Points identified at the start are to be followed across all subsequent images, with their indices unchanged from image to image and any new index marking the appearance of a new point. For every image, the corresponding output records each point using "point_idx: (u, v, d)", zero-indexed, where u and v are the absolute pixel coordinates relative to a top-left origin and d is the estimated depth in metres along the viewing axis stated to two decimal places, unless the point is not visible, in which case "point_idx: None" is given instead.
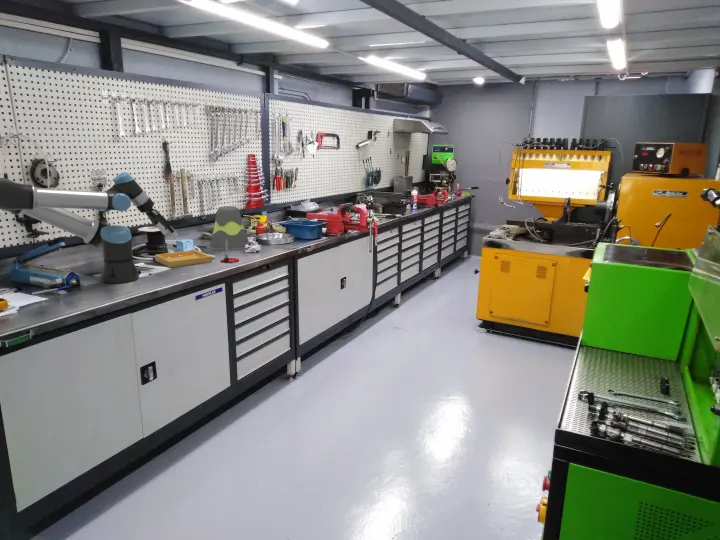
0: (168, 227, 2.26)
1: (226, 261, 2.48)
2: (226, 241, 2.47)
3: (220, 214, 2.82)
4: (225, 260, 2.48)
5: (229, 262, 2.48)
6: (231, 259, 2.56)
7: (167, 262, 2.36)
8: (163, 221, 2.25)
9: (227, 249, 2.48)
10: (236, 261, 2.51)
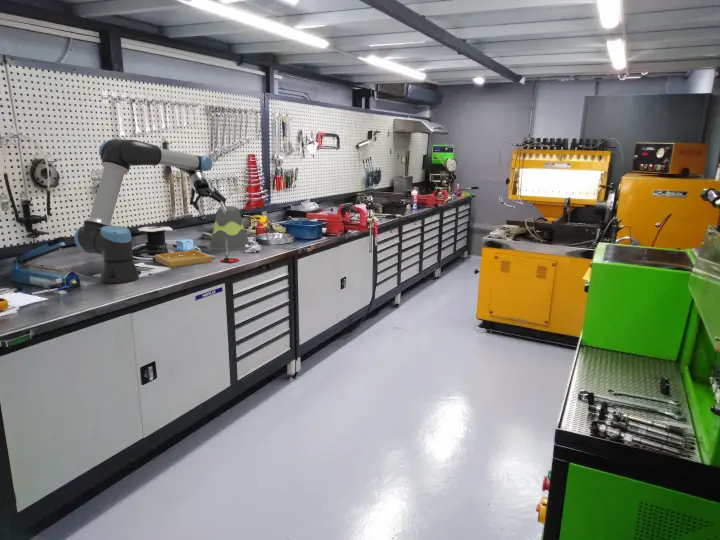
0: (225, 200, 2.64)
1: (226, 261, 2.48)
2: (226, 241, 2.47)
3: (220, 214, 2.82)
4: (225, 260, 2.48)
5: (229, 262, 2.48)
6: (231, 259, 2.56)
7: (167, 262, 2.36)
8: None
9: (227, 249, 2.48)
10: (236, 261, 2.51)
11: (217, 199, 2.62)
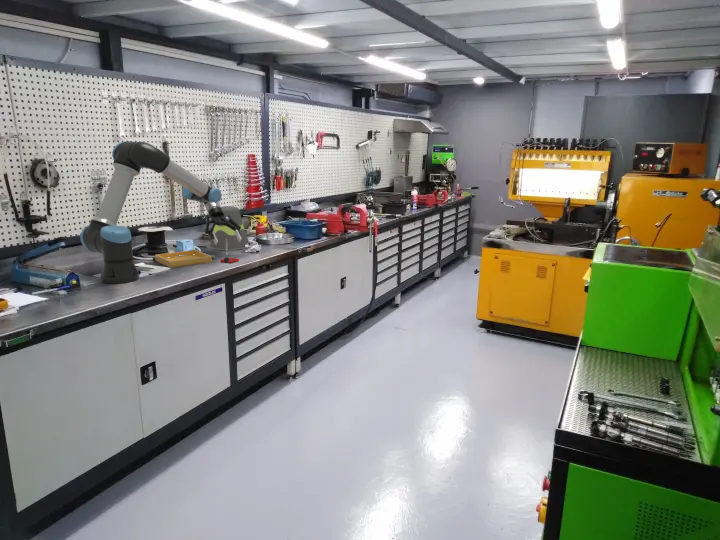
0: (240, 228, 2.62)
1: (226, 261, 2.48)
2: (226, 241, 2.47)
3: None
4: (225, 260, 2.48)
5: (229, 262, 2.48)
6: (231, 259, 2.56)
7: (167, 262, 2.36)
8: None
9: (227, 249, 2.48)
10: (236, 261, 2.51)
11: (232, 227, 2.60)
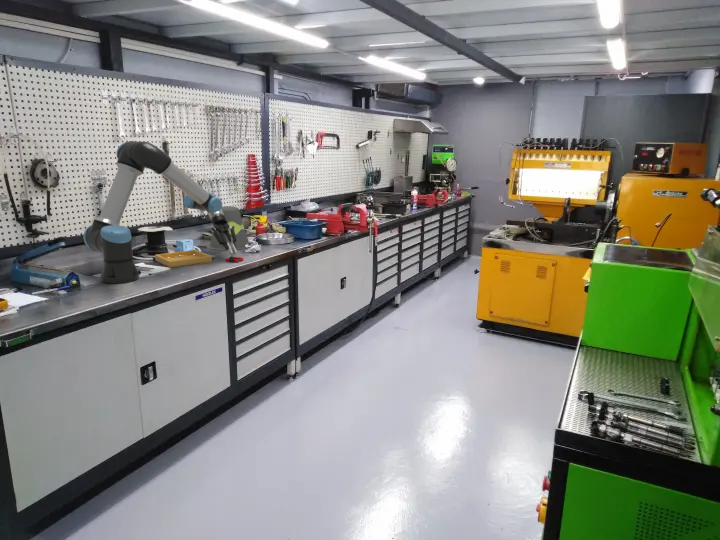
0: None
1: (231, 260, 2.50)
2: (231, 240, 2.49)
3: None
4: (230, 259, 2.50)
5: (234, 261, 2.50)
6: (235, 258, 2.58)
7: (167, 262, 2.36)
8: None
9: (232, 248, 2.50)
10: (241, 260, 2.53)
11: (229, 238, 2.53)
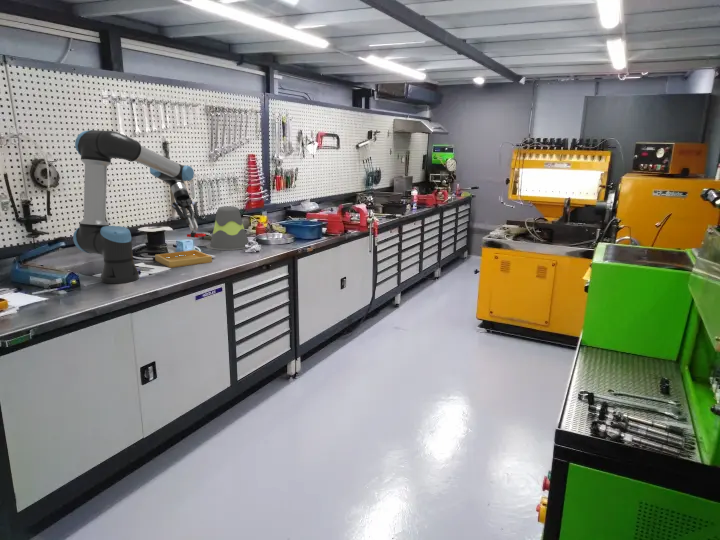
0: (198, 216, 2.48)
1: (193, 235, 2.45)
2: (193, 215, 2.43)
3: (220, 214, 2.82)
4: (192, 234, 2.45)
5: (196, 236, 2.45)
6: (198, 234, 2.52)
7: (167, 262, 2.36)
8: None
9: None
10: (203, 236, 2.48)
11: (191, 213, 2.48)
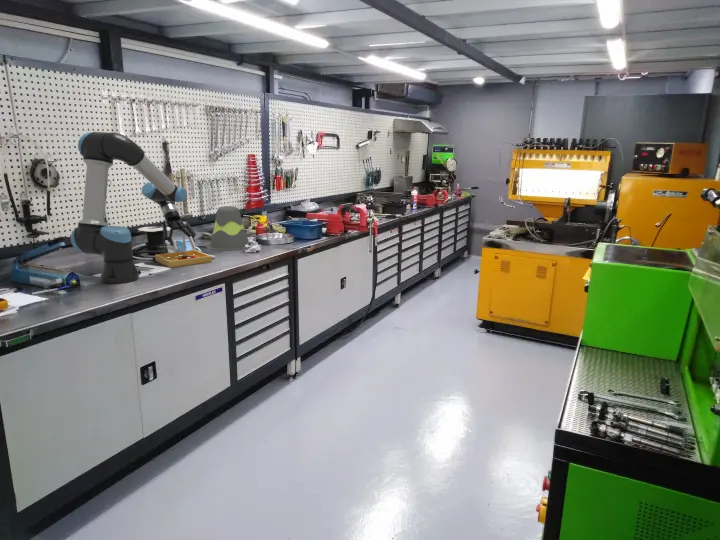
0: (195, 235, 2.52)
1: None
2: (184, 239, 2.45)
3: (220, 214, 2.82)
4: (183, 258, 2.46)
5: None
6: None
7: (167, 262, 2.36)
8: None
9: (185, 247, 2.46)
10: None
11: (187, 233, 2.51)
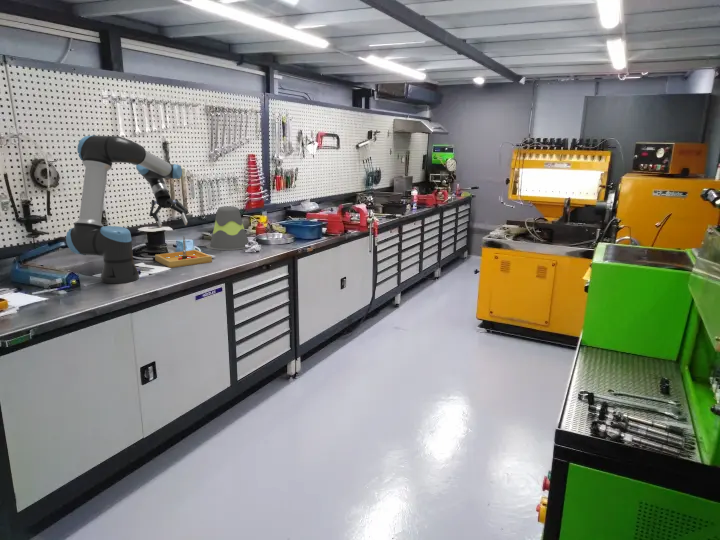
0: (187, 212, 2.61)
1: None
2: (184, 239, 2.45)
3: (220, 214, 2.82)
4: (183, 258, 2.46)
5: None
6: None
7: (167, 262, 2.36)
8: None
9: (185, 247, 2.46)
10: None
11: (178, 210, 2.59)
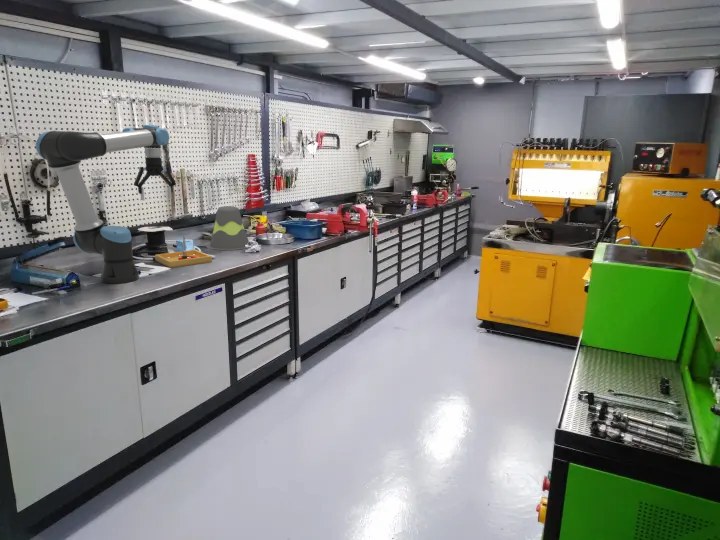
0: (175, 184, 2.48)
1: None
2: (184, 239, 2.45)
3: (220, 214, 2.82)
4: (183, 258, 2.46)
5: None
6: None
7: (167, 262, 2.36)
8: None
9: (185, 247, 2.46)
10: None
11: (166, 181, 2.45)
